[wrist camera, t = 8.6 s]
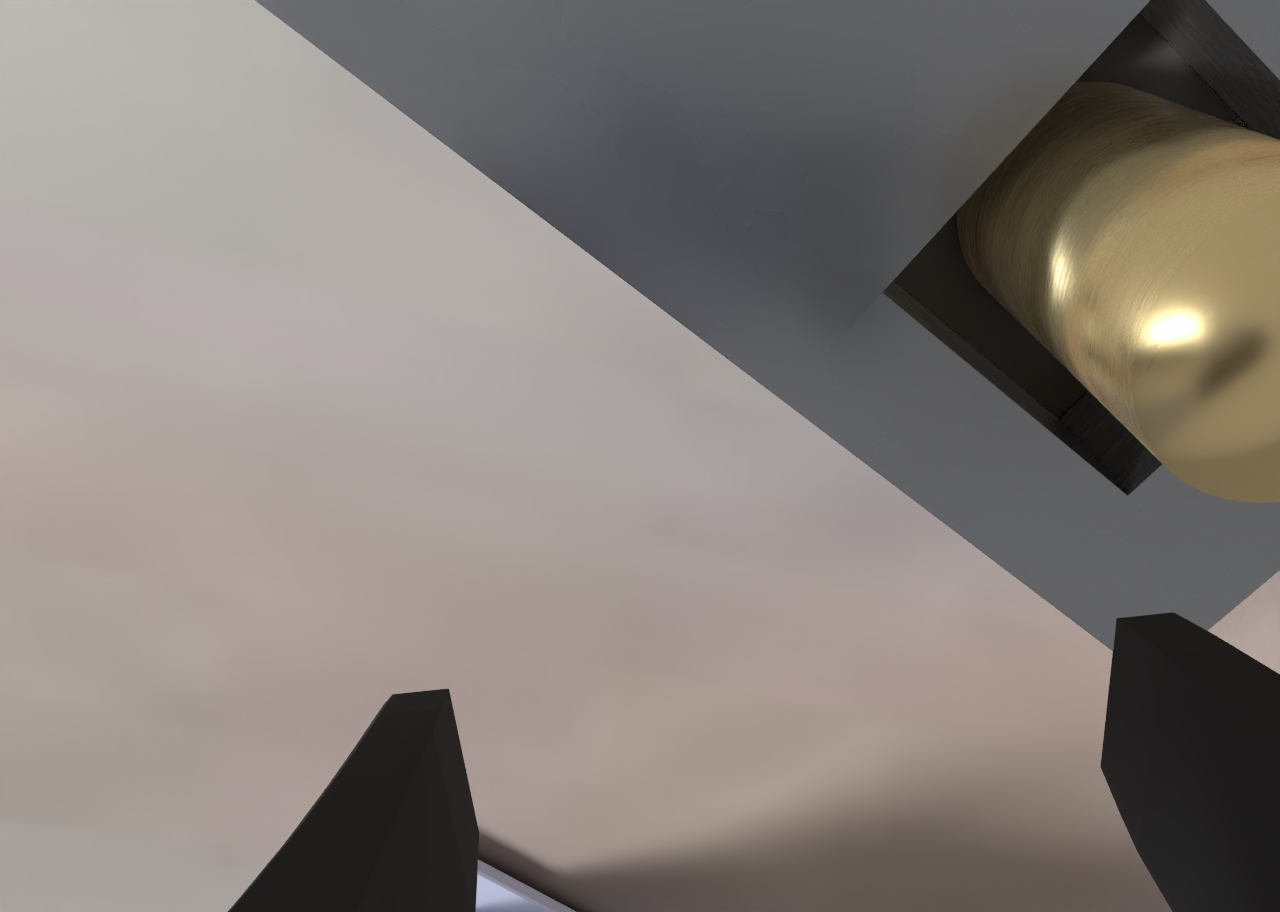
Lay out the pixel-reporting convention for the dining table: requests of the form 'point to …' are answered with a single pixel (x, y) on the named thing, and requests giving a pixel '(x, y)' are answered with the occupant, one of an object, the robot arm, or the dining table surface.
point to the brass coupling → (1148, 273)
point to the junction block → (839, 229)
